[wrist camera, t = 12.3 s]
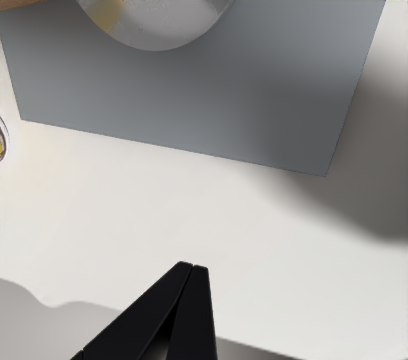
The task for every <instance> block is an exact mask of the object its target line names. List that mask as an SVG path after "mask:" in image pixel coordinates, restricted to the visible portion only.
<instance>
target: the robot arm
mask: <svg viewBox="0 0 408 360" xmlns="http://www.w3.org/2000/svg"><path fill="white" fill-rule="evenodd" d="M70 360H218V356H217V346H216V337H215V327H214V318H213V309H212V300H211V290H210V281H209V272H208V268H207V267H204V266H200V265H194V266H193V264H191V263H188V262H184V261H179V262H178V263H177V264H175V265H174V266H173V267H172V268H171V269H170V270H169V271H168V272H167V273H165V274H164V275H163V276H162V277H161V278H160V279H159V280H158V281H157V282H156V283H154V284H153V285H152V286H151V287H150V288H149V289H148V290H147V291H146V292H144V293H143V294H142V295H141V296H140V297H139V298H138V299H137V300H136V301H134V302H133V303H132V304H131V305H130V306H129V307H128V308H127V309H126V310H125V311H123V312H122V313H121V314H120V315H119V316H118V317H117V318H116V319H115V320H114V321H112V322H111V323H110V324H109V325H108V326H107V327H106V328H105V329H103V330H102V331H101V332H100V333H99V334H98V335H97V336H96V337H95V338H94V339H93V340H91V341H90V342H89V343H88V344H87V345H86V346H85V347H84V348H83V350H80V351H79V352H78V353H77V354H76V355H75V356H74V357H72V358H71V359H70Z"/></svg>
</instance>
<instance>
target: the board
mask: <svg viewBox="0 0 408 360" xmlns="http://www.w3.org/2000/svg"><path fill="white" fill-rule="evenodd" d="M385 2H386V0H235V1H234V3H233V5H232V6H231V8H230V9H229V11H228V12H227V13H226V15H225V16H224V17H223V18H222V20H221V21H220V22H219V23H218V24H217V25H216V26H214V27H213V28H212V29H211V30H209V31H208V32H207V33H205V34H203V35H202V36H200V37H198V38H196V39H195V40H193V41H191V42H189V43H187V44H185V45H183V46H180V47H178V48H174V49H170V50H163V51H148V50H142V49H137V48H133V47H131V46H128V45H125V44H123V43H121V42H119V41H117V40H116V39H114V38H112V37H111V36H110V35H108V34H107V33H105V32H104V31H103V30H102V29H101V28H99V27H98V26H97V25H96V24H95V23H94V22H93V21H92V20H91V18H90V17H89V16H88V15H87V14H86V13H85V11H84V10H83V9H82V7H81V6H80V5H79V3H78V1H77V0H48V1H43V2H39V3H35V4H30V5H26V6H22V7H17V8H13V9H8V10H4V11H0V38H1V42H2V46H3V50H4V54H5V58H6V62H7V66H8V70H9V74H10V78H11V82H12V86H13V90H14V94H15V98H16V102H17V106H18V110H19V114H20V118H21V120H26V121H31V122H36V123H42V124H47V125H52V126H58V127H63V128H68V129H74V130H79V131H84V132H89V133H95V134H100V135H105V136H111V137H116V138H121V139H126V140H132V141H137V142H142V143H148V144H153V145H158V146H163V147H169V148H174V149H179V150H185V151H190V152H195V153H200V154H206V155H211V156H216V157H222V158H227V159H232V160H237V161H243V162H248V163H253V164H259V165H264V166H269V167H275V168H280V169H285V170H290V171H296V172H301V173H306V174H312V175H317V176H322V177H325V176H326V174H327V171H328V168H329V165H330V162H331V159H332V156H333V153H334V150H335V147H336V144H337V141H338V139H339V136H340V133H341V130H342V127H343V124H344V121H345V118H346V115H347V112H348V109H349V107H350V104H351V101H352V98H353V95H354V92H355V89H356V86H357V83H358V80H359V77H360V74H361V72H362V69H363V66H364V63H365V60H366V57H367V54H368V51H369V48H370V45H371V42H372V40H373V37H374V34H375V31H376V28H377V25H378V22H379V19H380V16H381V13H382V10H383V7H384V5H385Z"/></svg>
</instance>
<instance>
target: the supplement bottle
mask: <svg viewBox="0 0 408 360" xmlns="http://www.w3.org/2000/svg"><path fill="white" fill-rule="evenodd" d="M8 151H9V136H8V132H7V130H6V127H5V125H4V124H3V122H2V120H1V119H0V161H1V160H3V159H4V158H5V156H6V155H7V153H8Z"/></svg>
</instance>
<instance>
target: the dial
mask: <svg viewBox="0 0 408 360" xmlns="http://www.w3.org/2000/svg"><path fill="white" fill-rule="evenodd" d="M43 1H48V0H0V11H4V10H8V9H13V8H17V7H22V6H26V5H30V4H35V3H39V2H43ZM77 1H78V3H79V5H80V6H81V7H82V9H83V10H84V11H85V13H86V14H87V15H88V16H89V17H90V18H91V20H92V21H93V22H94V23H95V24H96V25H97V26H98V27H99V28H101V29H102V30H103V31H104V32H105V33H107V34H108V35H110V36H111V37H112V38H114V39H116V40H117V41H119V42H121V43H123V44H125V45H128V46H131V47H133V48H137V49H142V50H148V51H163V50H170V49H174V48H178V47H180V46H183V45H185V44H187V43H189V42H191V41H193V40H195V39H196V38H198V37H200V36H202V35H203V34H205V33H207V32H208V31H209V30H211V29H212V28H213V27H214V26H216V25H217V24H218V23H219V22H220V21H221V20H222V18H223V17H224V16H225V15H226V13H227V12H228V11H229V9H230V8H231V6H232V5H233V3H234V1H235V0H77Z"/></svg>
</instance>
